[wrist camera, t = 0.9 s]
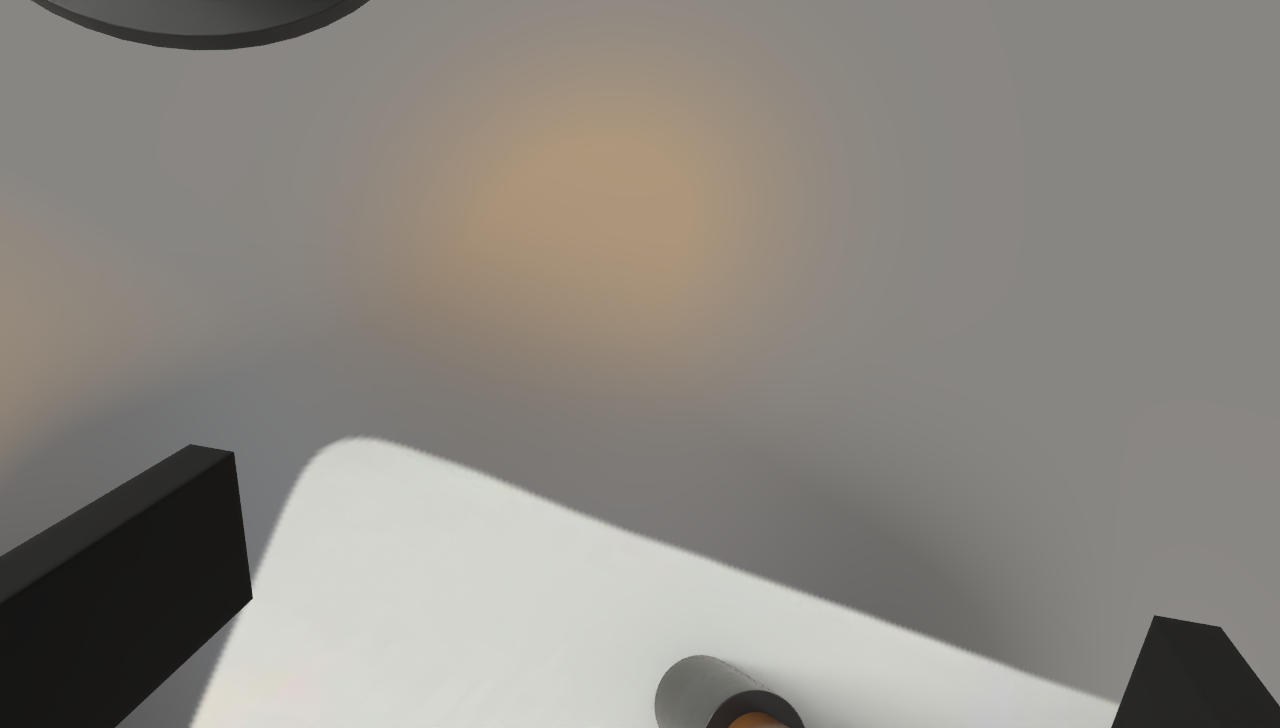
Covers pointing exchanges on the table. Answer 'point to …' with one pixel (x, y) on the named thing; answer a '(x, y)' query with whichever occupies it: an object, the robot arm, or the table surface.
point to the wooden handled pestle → (718, 698)
